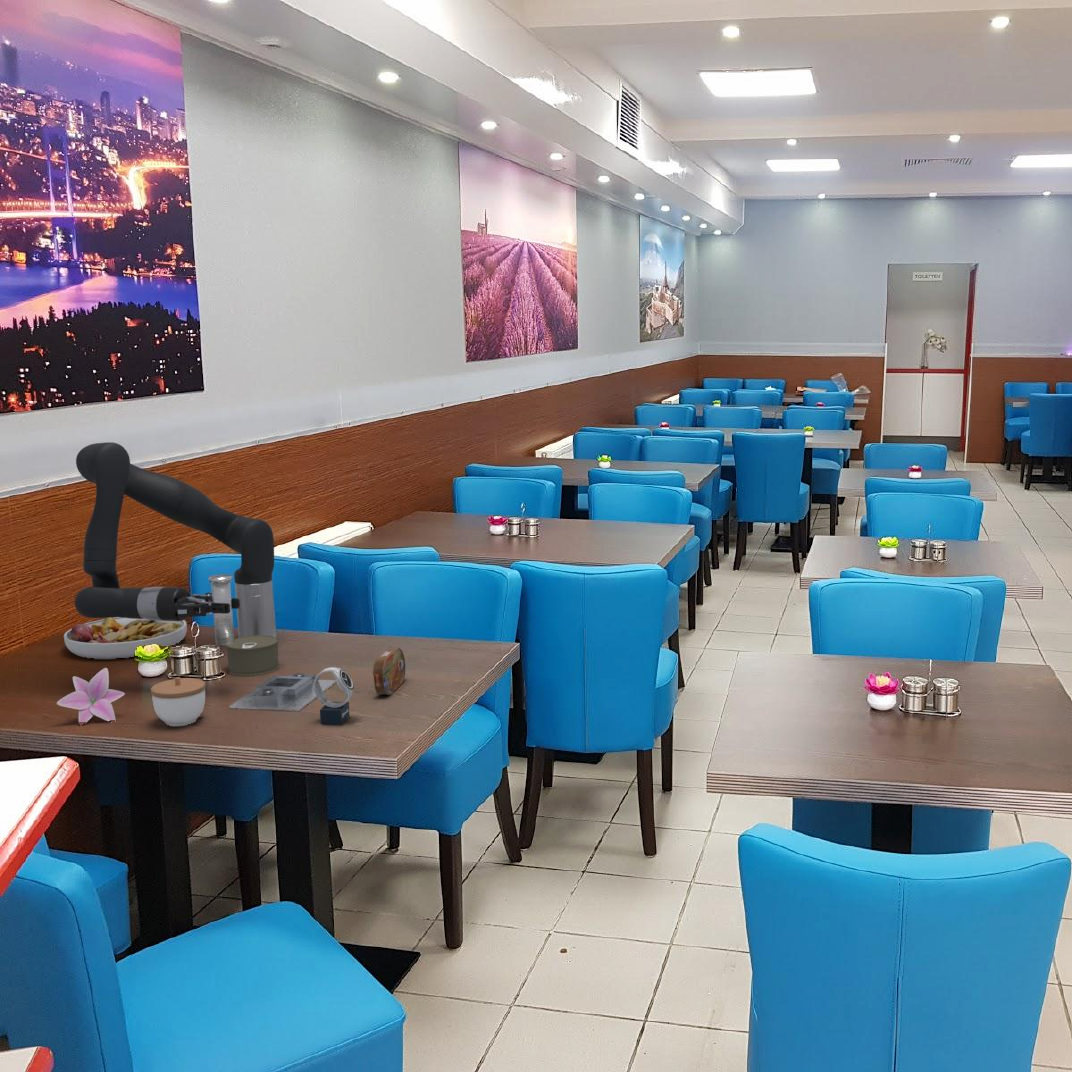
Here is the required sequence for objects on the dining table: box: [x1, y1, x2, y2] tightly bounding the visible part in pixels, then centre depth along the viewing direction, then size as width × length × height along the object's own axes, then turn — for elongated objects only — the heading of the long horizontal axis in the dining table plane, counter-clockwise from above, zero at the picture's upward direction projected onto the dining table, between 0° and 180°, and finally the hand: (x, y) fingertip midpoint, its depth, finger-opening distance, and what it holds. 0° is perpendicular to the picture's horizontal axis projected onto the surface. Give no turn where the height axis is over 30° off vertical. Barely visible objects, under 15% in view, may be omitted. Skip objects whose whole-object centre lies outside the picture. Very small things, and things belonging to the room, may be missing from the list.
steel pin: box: [208, 573, 235, 646], centre depth 258 cm, size 5×5×15 cm
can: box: [225, 635, 280, 677], centre depth 278 cm, size 12×12×7 cm
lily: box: [56, 667, 126, 723], centre depth 245 cm, size 12×12×10 cm
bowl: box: [63, 617, 188, 660], centre depth 303 cm, size 30×30×8 cm
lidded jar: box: [150, 676, 206, 727], centre depth 241 cm, size 11×11×9 cm
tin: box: [372, 647, 406, 696], centre depth 260 cm, size 15×3×8 cm, turn 168°
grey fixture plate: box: [228, 672, 337, 712], centre depth 258 cm, size 21×16×3 cm
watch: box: [313, 666, 355, 726], centre depth 239 cm, size 6×8×11 cm
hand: (233, 605), depth 257 cm, fingers closed on steel pin, 4 cm apart
